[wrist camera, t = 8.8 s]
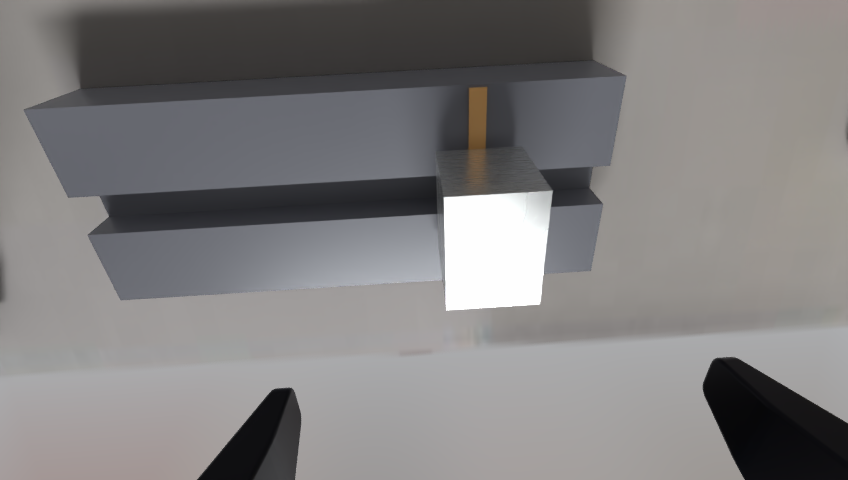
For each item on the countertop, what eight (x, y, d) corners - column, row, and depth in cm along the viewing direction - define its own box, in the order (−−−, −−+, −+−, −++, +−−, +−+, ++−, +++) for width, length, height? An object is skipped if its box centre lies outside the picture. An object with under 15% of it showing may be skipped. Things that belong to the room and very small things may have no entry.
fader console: (154, 260, 21) (119, 301, 19) (80, 88, 17) (21, 110, 15) (568, 235, 22) (591, 272, 19) (593, 60, 17) (627, 76, 15)
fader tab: (435, 225, 19) (446, 309, 14) (432, 134, 17) (443, 197, 12) (505, 221, 19) (539, 304, 14) (510, 129, 17) (552, 190, 12)
